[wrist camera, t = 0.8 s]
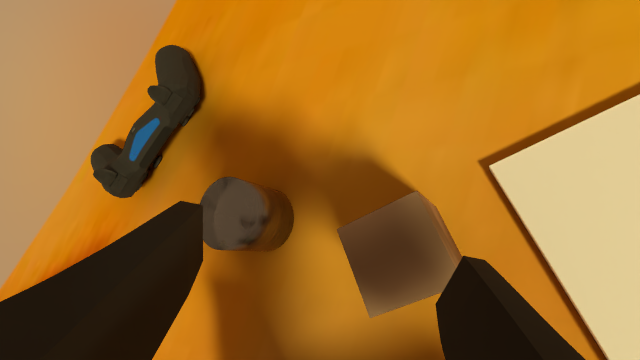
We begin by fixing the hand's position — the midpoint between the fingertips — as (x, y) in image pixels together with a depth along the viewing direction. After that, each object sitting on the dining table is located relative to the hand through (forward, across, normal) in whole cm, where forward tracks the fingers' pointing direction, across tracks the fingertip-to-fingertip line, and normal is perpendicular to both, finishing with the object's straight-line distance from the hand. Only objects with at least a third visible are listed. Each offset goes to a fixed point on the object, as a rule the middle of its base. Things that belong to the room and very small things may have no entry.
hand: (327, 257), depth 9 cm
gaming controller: (+25, +17, +10) cm, 32 cm away
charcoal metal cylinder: (+14, +4, +11) cm, 18 cm away
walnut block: (+9, -7, +7) cm, 13 cm away
